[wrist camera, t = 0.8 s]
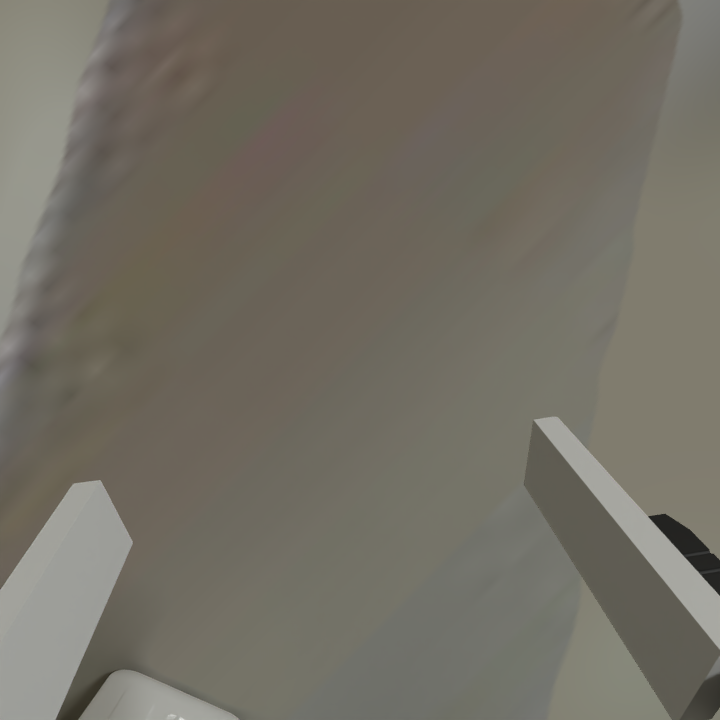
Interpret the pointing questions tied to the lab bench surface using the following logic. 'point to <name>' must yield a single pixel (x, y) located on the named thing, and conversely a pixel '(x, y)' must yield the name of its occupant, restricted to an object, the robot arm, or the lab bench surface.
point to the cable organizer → (147, 701)
